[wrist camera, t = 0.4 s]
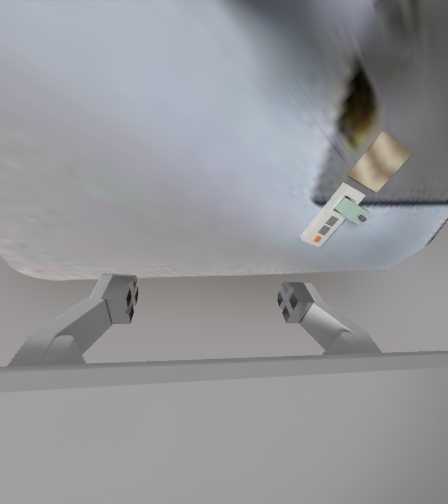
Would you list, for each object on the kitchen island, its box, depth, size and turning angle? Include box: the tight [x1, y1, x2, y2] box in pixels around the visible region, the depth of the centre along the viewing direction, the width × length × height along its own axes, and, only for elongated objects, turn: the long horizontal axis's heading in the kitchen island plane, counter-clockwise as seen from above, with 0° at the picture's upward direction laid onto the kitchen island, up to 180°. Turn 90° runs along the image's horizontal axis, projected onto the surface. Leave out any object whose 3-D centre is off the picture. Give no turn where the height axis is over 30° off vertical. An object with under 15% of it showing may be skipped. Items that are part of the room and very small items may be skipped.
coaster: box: [348, 131, 412, 193], centre depth 56 cm, size 12×12×1 cm
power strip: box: [300, 183, 366, 248], centre depth 64 cm, size 20×7×4 cm, turn 154°
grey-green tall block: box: [334, 196, 371, 225], centre depth 58 cm, size 4×4×12 cm
